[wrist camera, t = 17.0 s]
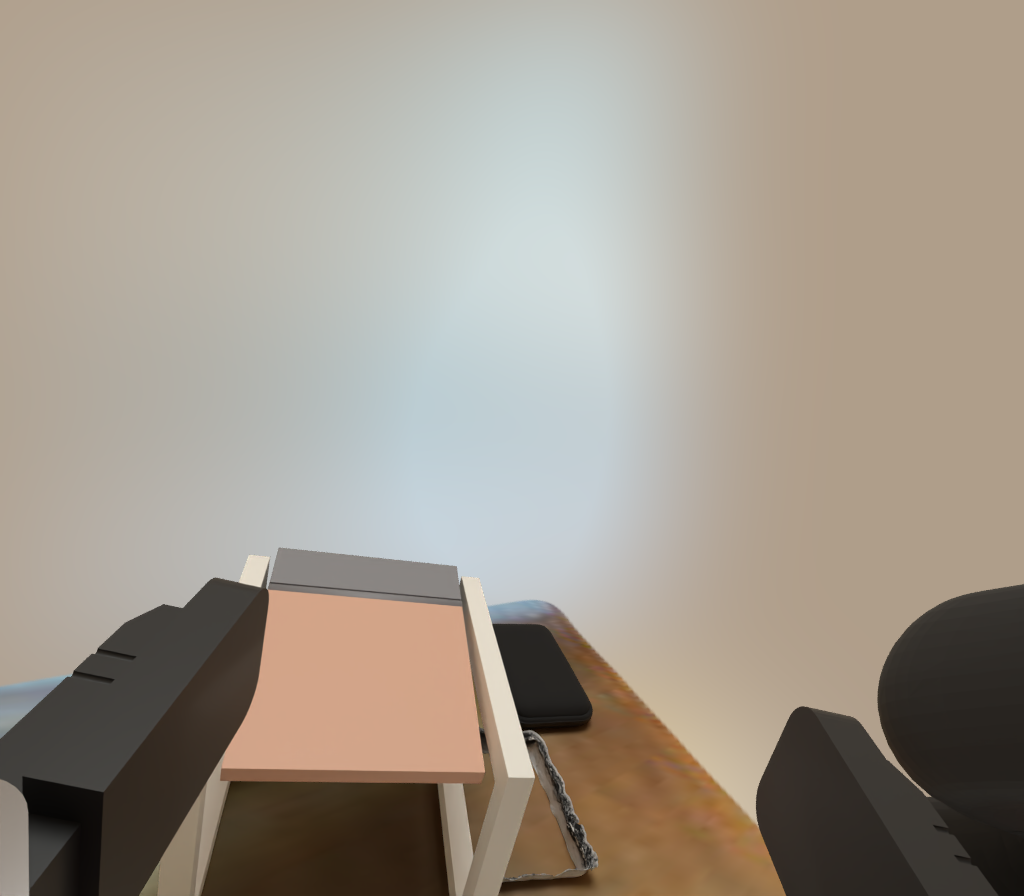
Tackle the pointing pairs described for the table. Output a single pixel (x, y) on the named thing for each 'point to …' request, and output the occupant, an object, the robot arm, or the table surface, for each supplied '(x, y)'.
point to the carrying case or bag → (540, 678)
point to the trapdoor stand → (513, 773)
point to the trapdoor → (360, 677)
